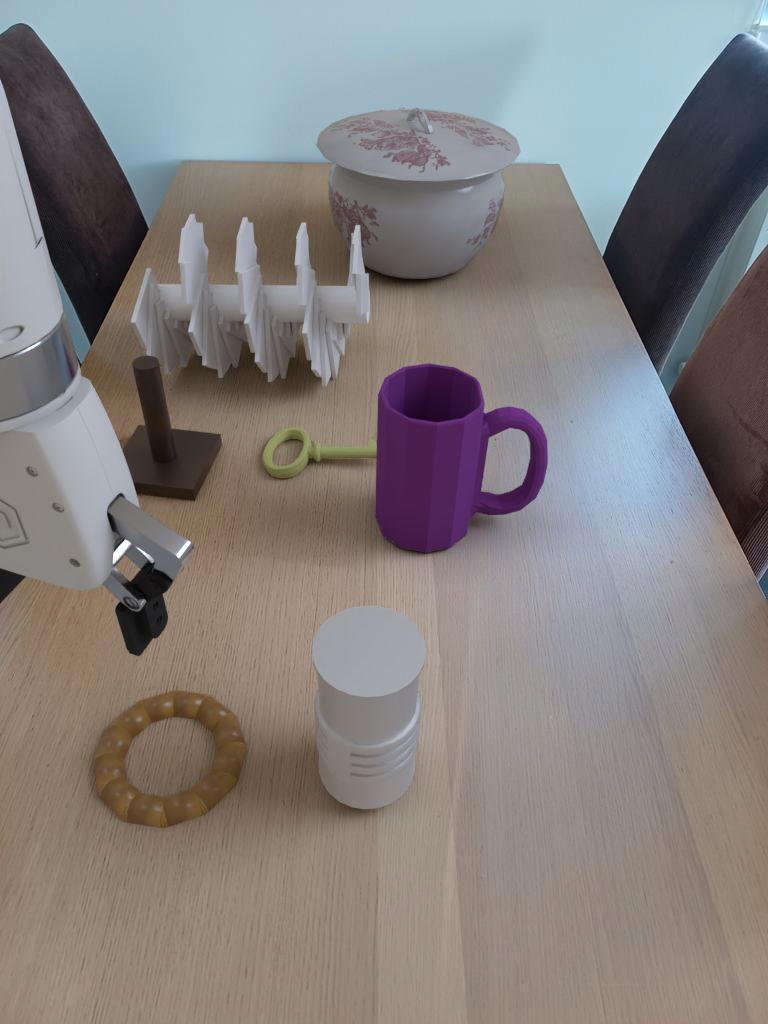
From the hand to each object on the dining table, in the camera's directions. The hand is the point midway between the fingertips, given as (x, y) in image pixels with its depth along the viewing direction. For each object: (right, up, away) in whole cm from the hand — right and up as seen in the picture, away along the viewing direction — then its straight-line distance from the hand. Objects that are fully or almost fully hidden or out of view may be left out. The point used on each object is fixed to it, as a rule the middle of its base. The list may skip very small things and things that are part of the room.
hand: (76, 612), depth 47 cm
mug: (+25, +5, +31) cm, 40 cm away
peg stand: (-4, +11, +36) cm, 38 cm away
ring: (+3, -12, +11) cm, 16 cm away
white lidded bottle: (+17, -13, +11) cm, 24 cm away
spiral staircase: (+4, +23, +50) cm, 55 cm away
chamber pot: (+22, +43, +73) cm, 88 cm away
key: (+11, +11, +37) cm, 41 cm away
